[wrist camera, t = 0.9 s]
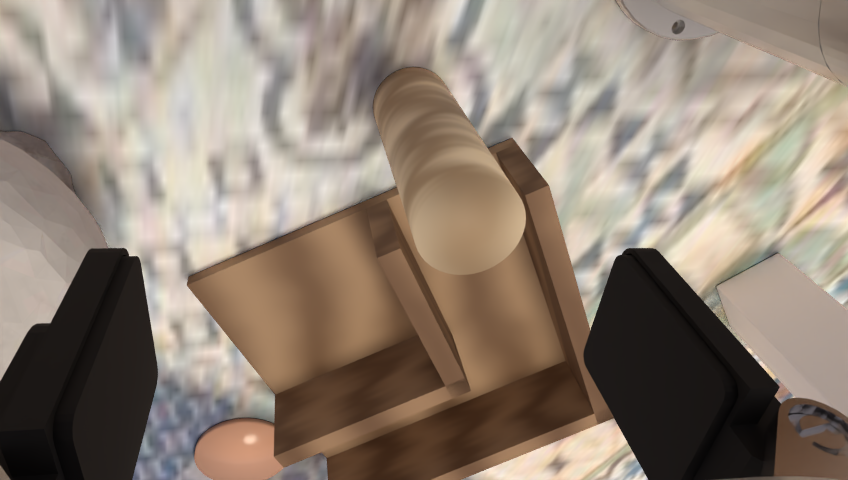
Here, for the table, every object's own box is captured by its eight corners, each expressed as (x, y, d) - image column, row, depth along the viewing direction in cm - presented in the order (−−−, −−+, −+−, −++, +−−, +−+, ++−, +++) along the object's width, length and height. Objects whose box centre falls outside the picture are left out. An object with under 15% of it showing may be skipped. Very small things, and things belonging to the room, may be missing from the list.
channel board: (512, 137, 41) (548, 185, 35) (580, 357, 54) (615, 417, 49) (188, 276, 42) (173, 344, 36) (333, 458, 55) (338, 528, 50)
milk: (788, 294, 55) (1035, 514, 37) (727, 326, 56) (940, 556, 38) (778, 250, 52) (1044, 468, 34) (713, 285, 52) (939, 516, 34)
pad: (262, 405, 50) (262, 410, 50) (306, 457, 55) (306, 462, 54) (176, 441, 51) (175, 447, 50) (226, 489, 55) (226, 495, 55)
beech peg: (434, 54, 37) (508, 158, 25) (460, 123, 40) (537, 248, 27) (360, 86, 37) (396, 206, 25) (390, 153, 40) (436, 290, 28)
